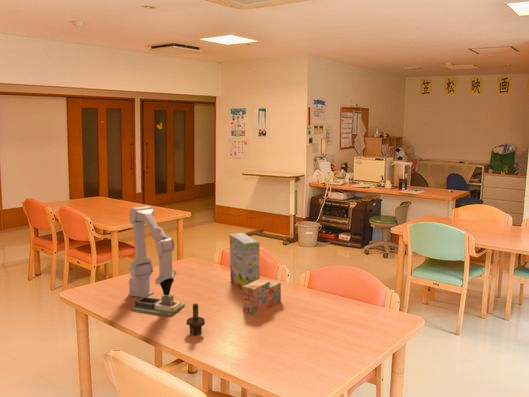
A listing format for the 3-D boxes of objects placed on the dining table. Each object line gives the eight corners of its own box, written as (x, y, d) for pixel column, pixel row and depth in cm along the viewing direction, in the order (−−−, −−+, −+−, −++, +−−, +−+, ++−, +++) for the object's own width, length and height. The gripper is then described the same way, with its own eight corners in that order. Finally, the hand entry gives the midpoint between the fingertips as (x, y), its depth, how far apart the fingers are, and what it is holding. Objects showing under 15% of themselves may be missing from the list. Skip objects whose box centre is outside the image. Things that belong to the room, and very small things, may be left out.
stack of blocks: (270, 298, 242) (270, 273, 240) (281, 301, 238) (281, 276, 236) (242, 312, 224) (242, 285, 222) (253, 315, 221) (253, 288, 219)
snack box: (228, 281, 266) (228, 233, 262) (244, 278, 270) (243, 232, 266) (244, 294, 247) (244, 243, 243) (260, 291, 251) (260, 241, 247)
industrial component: (193, 338, 197) (192, 309, 195) (182, 332, 203) (181, 304, 201) (212, 331, 204) (211, 303, 202) (201, 326, 209) (201, 298, 207)
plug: (161, 308, 225) (161, 296, 224) (165, 305, 228) (165, 294, 228) (169, 309, 224) (169, 297, 223) (173, 306, 227) (173, 295, 226)
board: (131, 310, 225) (130, 304, 225) (147, 300, 238) (147, 294, 237) (170, 316, 219) (169, 310, 218) (184, 306, 231) (184, 299, 230)
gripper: (164, 271, 215) (165, 301, 217) (181, 262, 229) (182, 290, 231) (150, 269, 218) (151, 299, 220) (168, 260, 231) (168, 288, 233)
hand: (166, 294), depth 225 cm, fingers closed
